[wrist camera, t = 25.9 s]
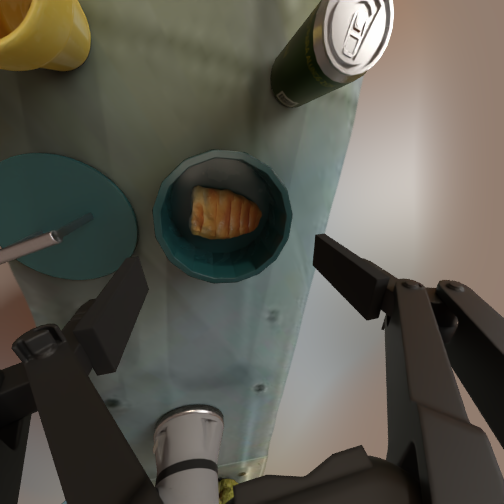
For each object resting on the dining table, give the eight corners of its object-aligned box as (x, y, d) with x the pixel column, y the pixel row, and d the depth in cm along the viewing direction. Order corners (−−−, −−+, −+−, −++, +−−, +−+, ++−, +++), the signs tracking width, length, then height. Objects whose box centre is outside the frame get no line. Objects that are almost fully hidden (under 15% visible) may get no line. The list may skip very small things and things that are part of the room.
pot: (282, 235, 32) (302, 257, 26) (194, 268, 32) (191, 299, 25) (256, 133, 26) (273, 128, 19) (143, 173, 25) (122, 181, 18)
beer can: (302, 115, 26) (370, 92, 15) (262, 98, 24) (307, 58, 14) (320, 62, 24) (412, -8, 13) (277, 39, 22) (343, -60, 12)
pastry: (262, 191, 28) (269, 197, 25) (254, 237, 31) (260, 248, 28) (190, 183, 26) (187, 188, 23) (189, 233, 29) (186, 244, 26)
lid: (161, 251, 30) (146, 288, 22) (56, 290, 29) (2, 341, 21) (90, 132, 22) (29, 123, 15) (-52, 181, 22) (-193, 198, 14)
